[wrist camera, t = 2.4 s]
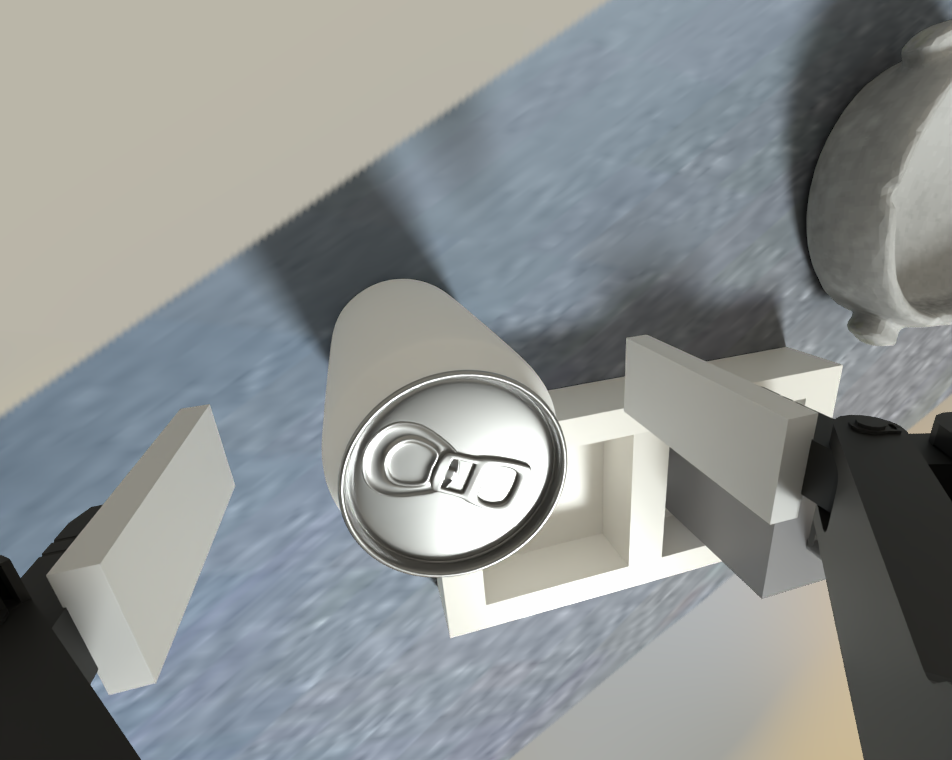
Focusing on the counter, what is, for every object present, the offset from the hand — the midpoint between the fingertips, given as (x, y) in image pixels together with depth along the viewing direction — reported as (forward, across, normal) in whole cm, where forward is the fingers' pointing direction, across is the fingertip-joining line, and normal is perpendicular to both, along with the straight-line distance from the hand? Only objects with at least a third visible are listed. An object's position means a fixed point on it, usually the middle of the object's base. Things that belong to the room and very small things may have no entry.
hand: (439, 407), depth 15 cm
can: (+8, 0, 0) cm, 8 cm away
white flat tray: (+8, +11, -9) cm, 16 cm away
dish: (+9, +28, +4) cm, 29 cm away
